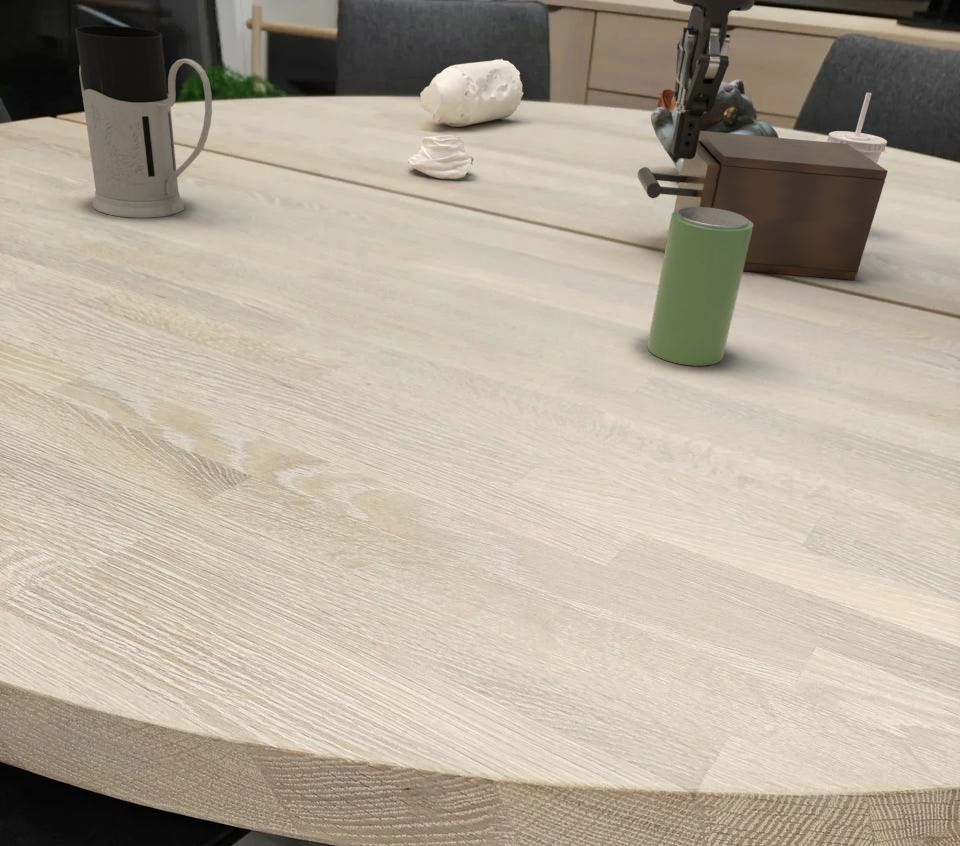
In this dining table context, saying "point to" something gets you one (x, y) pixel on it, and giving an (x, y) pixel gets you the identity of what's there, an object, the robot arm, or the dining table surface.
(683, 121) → the robot arm
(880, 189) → the cabinet
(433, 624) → the dining table surface
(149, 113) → the glass holder
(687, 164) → the drawer
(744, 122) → the lucky cat figurine
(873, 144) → the smoothie
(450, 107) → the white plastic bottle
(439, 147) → the whipped cream
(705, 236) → the can
